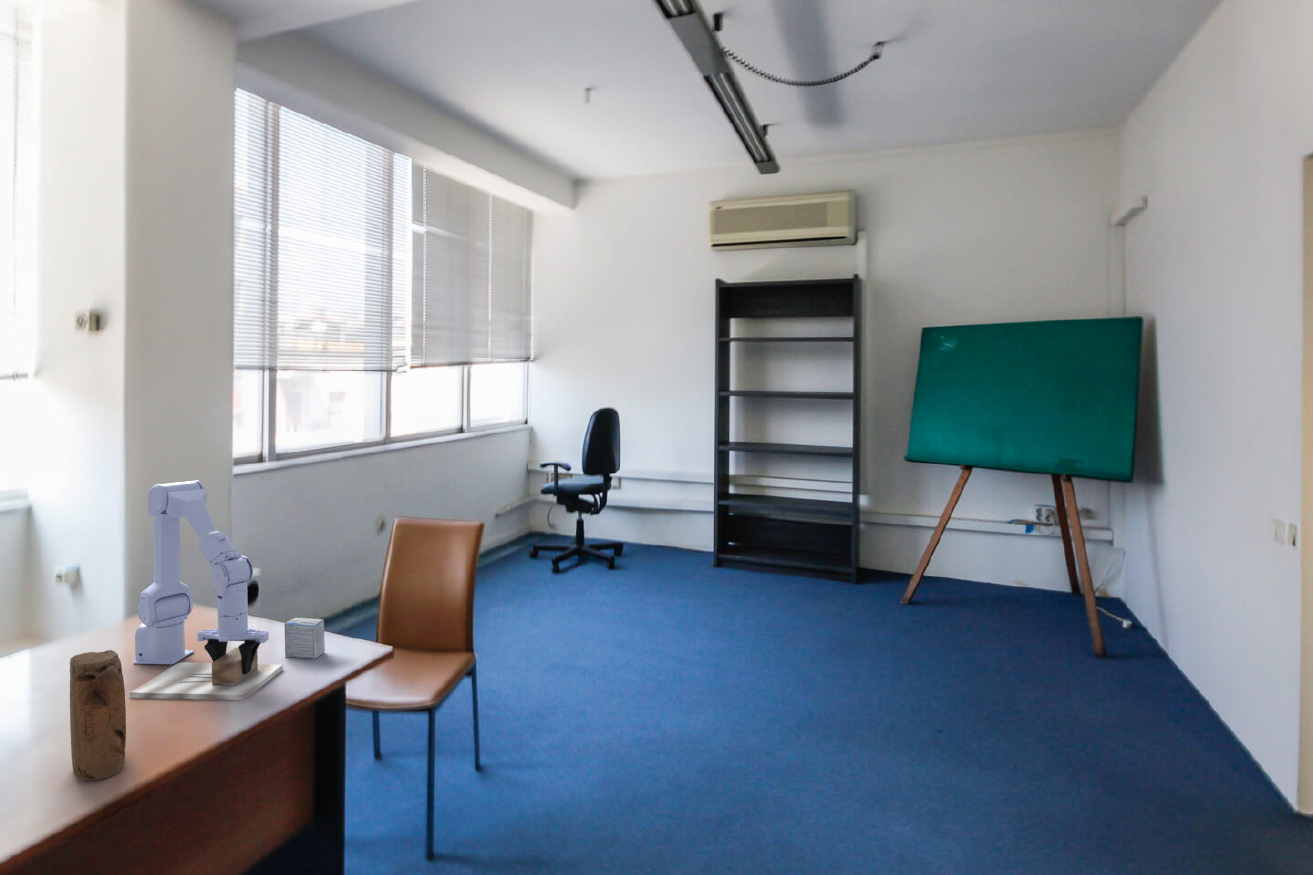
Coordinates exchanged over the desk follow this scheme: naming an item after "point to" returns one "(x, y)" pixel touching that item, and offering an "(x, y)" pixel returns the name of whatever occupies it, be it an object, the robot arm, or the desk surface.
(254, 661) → the block
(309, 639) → the medicine box
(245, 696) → the board
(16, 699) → the desk surface
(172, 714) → the desk surface
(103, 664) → the block
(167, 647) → the robot arm
